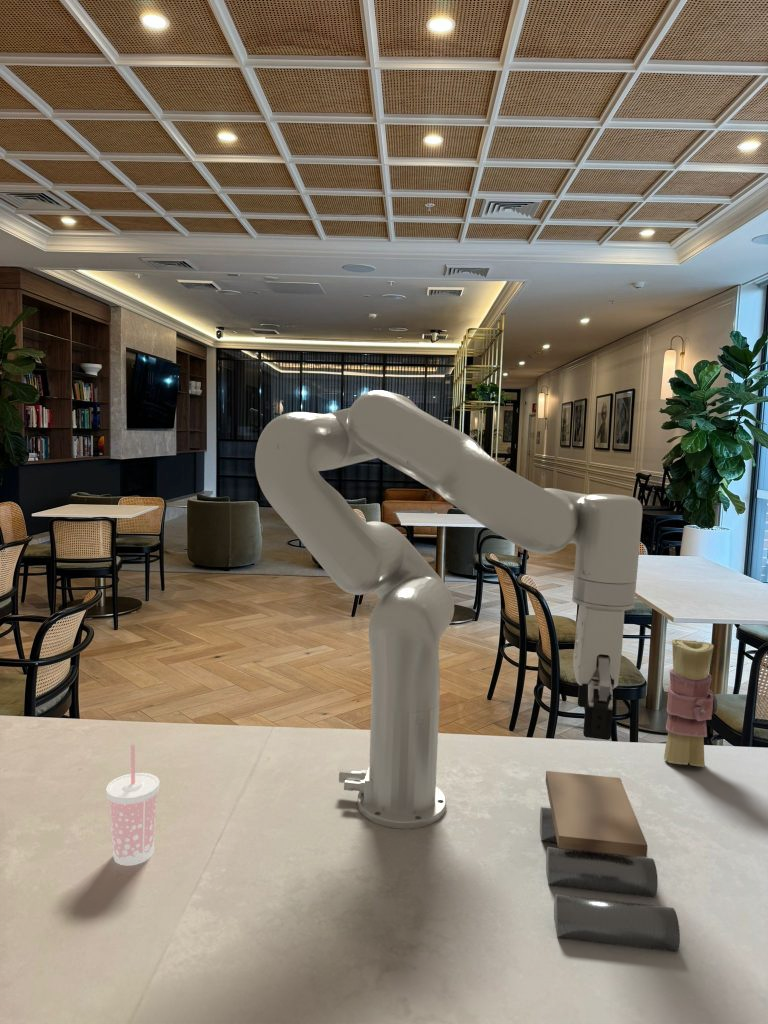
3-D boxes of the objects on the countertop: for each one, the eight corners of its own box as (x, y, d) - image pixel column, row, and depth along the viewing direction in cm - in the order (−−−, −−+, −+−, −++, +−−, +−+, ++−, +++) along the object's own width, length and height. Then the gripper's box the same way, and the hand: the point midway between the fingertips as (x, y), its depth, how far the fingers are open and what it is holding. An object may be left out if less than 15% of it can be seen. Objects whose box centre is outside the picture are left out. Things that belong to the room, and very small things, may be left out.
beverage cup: (146, 834, 89) (145, 729, 87) (169, 855, 84) (168, 746, 83) (98, 853, 84) (96, 744, 83) (120, 876, 80) (118, 762, 78)
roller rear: (539, 822, 93) (541, 847, 90) (541, 800, 92) (543, 825, 88) (631, 831, 92) (636, 857, 88) (635, 810, 90) (641, 835, 86)
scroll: (718, 775, 109) (729, 653, 107) (668, 769, 111) (677, 648, 108) (705, 754, 116) (715, 639, 114) (659, 749, 118) (668, 635, 116)
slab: (558, 847, 81) (558, 835, 81) (545, 781, 97) (546, 770, 97) (646, 857, 80) (647, 845, 79) (619, 788, 95) (619, 777, 95)
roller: (556, 946, 72) (559, 917, 71) (552, 914, 76) (555, 885, 74) (676, 961, 70) (681, 931, 69) (666, 927, 74) (671, 898, 73)
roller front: (545, 849, 85) (546, 886, 82) (549, 844, 81) (550, 882, 79) (647, 861, 83) (650, 898, 81) (655, 855, 80) (659, 894, 77)
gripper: (569, 576, 96) (560, 694, 98) (577, 605, 79) (566, 747, 81) (625, 580, 95) (615, 700, 97) (646, 611, 78) (633, 755, 80)
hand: (593, 721), depth 89 cm, fingers open, 9 cm apart
